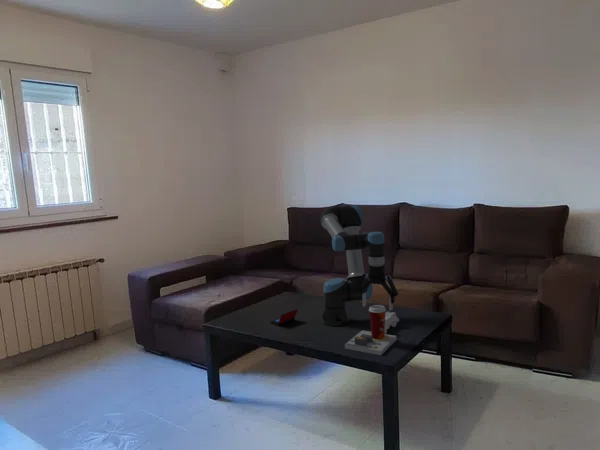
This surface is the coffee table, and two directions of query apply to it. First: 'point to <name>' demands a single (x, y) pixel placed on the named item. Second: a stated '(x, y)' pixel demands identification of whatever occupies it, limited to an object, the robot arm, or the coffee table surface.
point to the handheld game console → (285, 318)
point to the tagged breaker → (361, 341)
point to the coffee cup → (377, 321)
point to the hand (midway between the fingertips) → (377, 307)
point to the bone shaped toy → (390, 320)
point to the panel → (371, 343)
